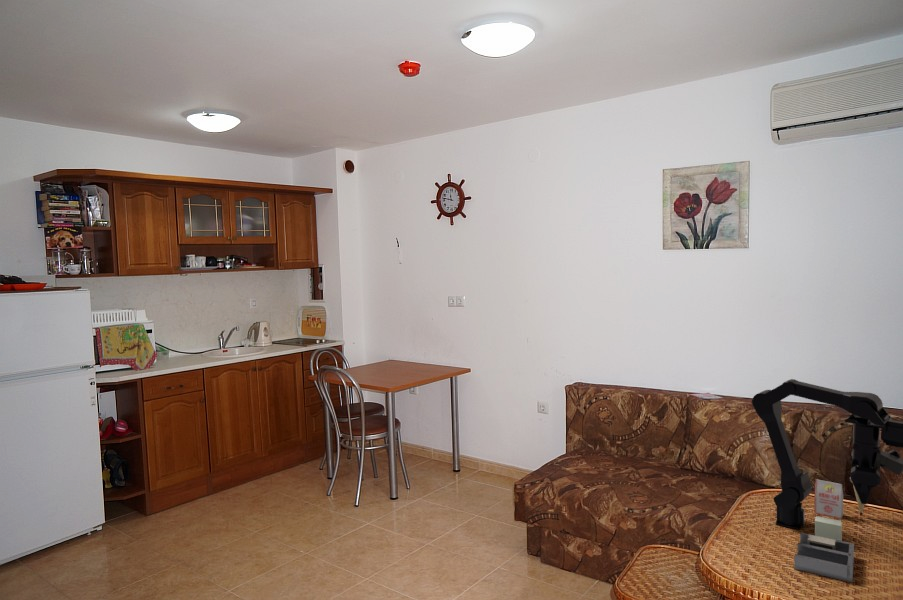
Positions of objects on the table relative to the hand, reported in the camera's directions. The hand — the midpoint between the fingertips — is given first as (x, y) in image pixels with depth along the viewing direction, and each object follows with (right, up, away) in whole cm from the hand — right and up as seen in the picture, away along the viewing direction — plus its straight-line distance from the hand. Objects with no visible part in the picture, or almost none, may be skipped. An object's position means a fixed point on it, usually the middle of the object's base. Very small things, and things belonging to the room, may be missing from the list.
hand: (863, 497), depth 156 cm
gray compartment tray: (-15, -14, -8) cm, 22 cm away
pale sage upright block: (-8, -13, +3) cm, 16 cm away
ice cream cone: (+11, -12, +16) cm, 23 cm away
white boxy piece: (+3, -12, +20) cm, 23 cm away
